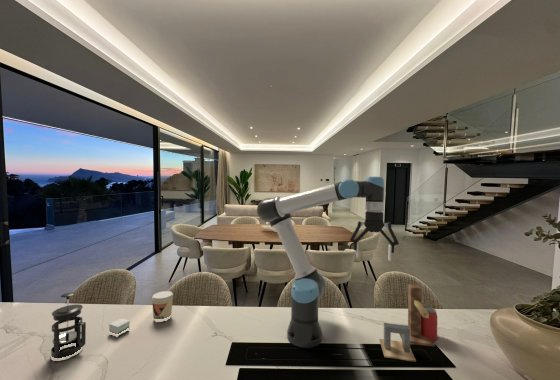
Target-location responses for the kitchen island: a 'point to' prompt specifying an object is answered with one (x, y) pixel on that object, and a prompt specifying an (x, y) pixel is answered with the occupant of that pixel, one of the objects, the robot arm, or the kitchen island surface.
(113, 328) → the small box
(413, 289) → the stand
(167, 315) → the coffee cup
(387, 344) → the gray arch block
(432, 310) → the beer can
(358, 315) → the kitchen island surface
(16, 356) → the kitchen island surface
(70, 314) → the french press
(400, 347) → the coaster
